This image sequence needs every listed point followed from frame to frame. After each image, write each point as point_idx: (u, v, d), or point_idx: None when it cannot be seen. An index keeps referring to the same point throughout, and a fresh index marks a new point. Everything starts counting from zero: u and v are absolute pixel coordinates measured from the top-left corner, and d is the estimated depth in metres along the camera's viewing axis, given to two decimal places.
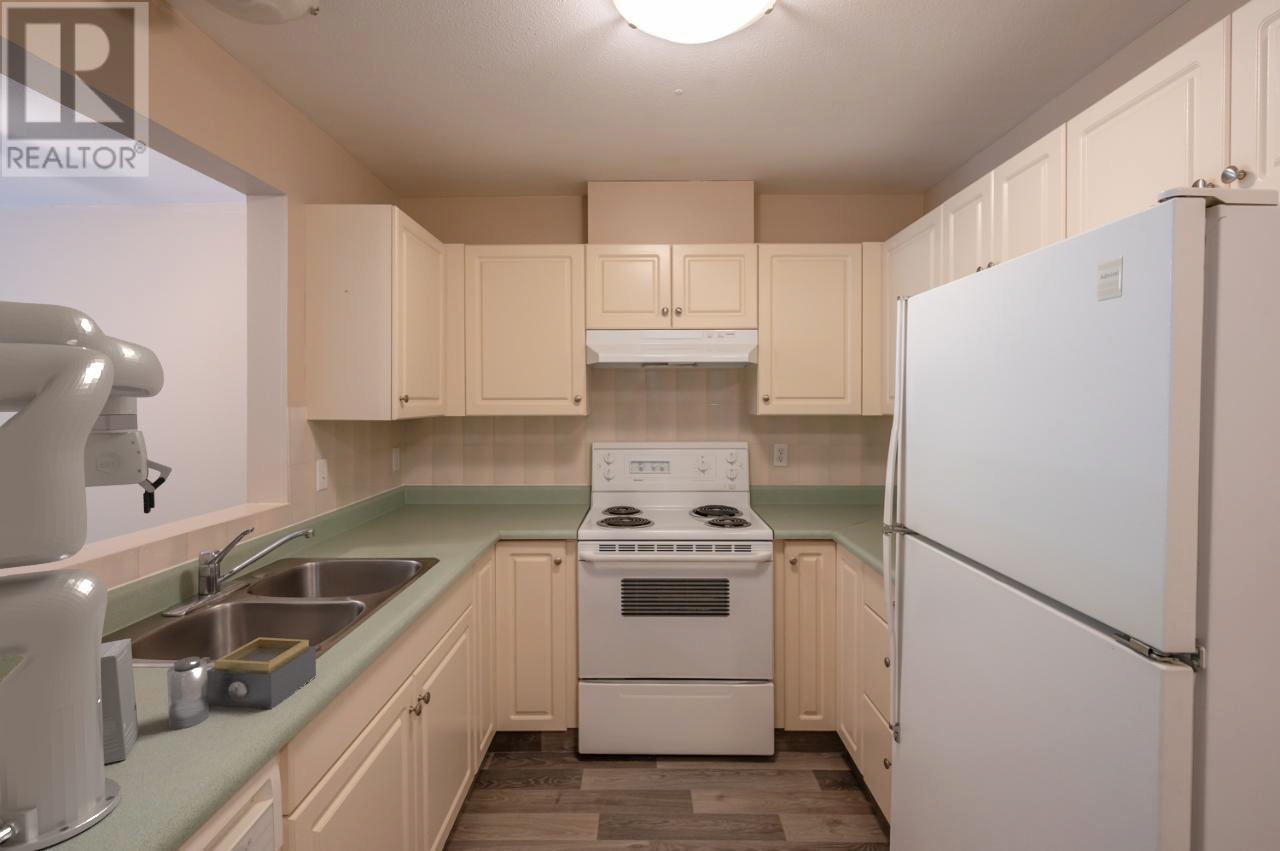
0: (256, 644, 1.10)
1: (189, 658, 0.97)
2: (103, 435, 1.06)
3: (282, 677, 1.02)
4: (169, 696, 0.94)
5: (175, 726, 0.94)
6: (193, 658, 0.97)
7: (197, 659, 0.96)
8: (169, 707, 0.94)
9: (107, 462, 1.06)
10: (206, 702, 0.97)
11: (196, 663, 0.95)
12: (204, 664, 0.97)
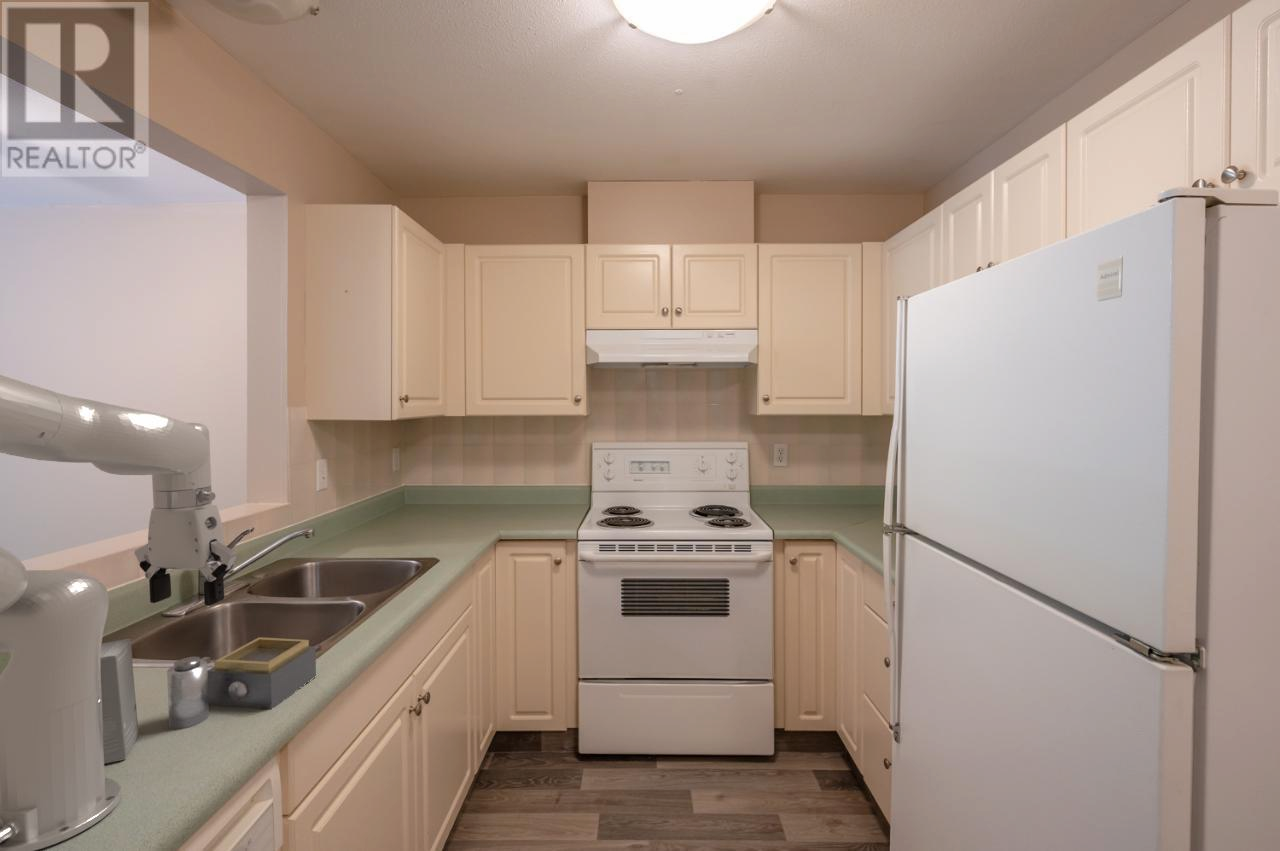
0: (256, 644, 1.10)
1: (189, 658, 0.97)
2: None
3: (282, 677, 1.02)
4: (169, 696, 0.94)
5: (175, 726, 0.94)
6: (193, 658, 0.97)
7: (197, 659, 0.96)
8: (169, 707, 0.94)
9: None
10: (206, 702, 0.97)
11: (196, 663, 0.95)
12: (204, 664, 0.97)
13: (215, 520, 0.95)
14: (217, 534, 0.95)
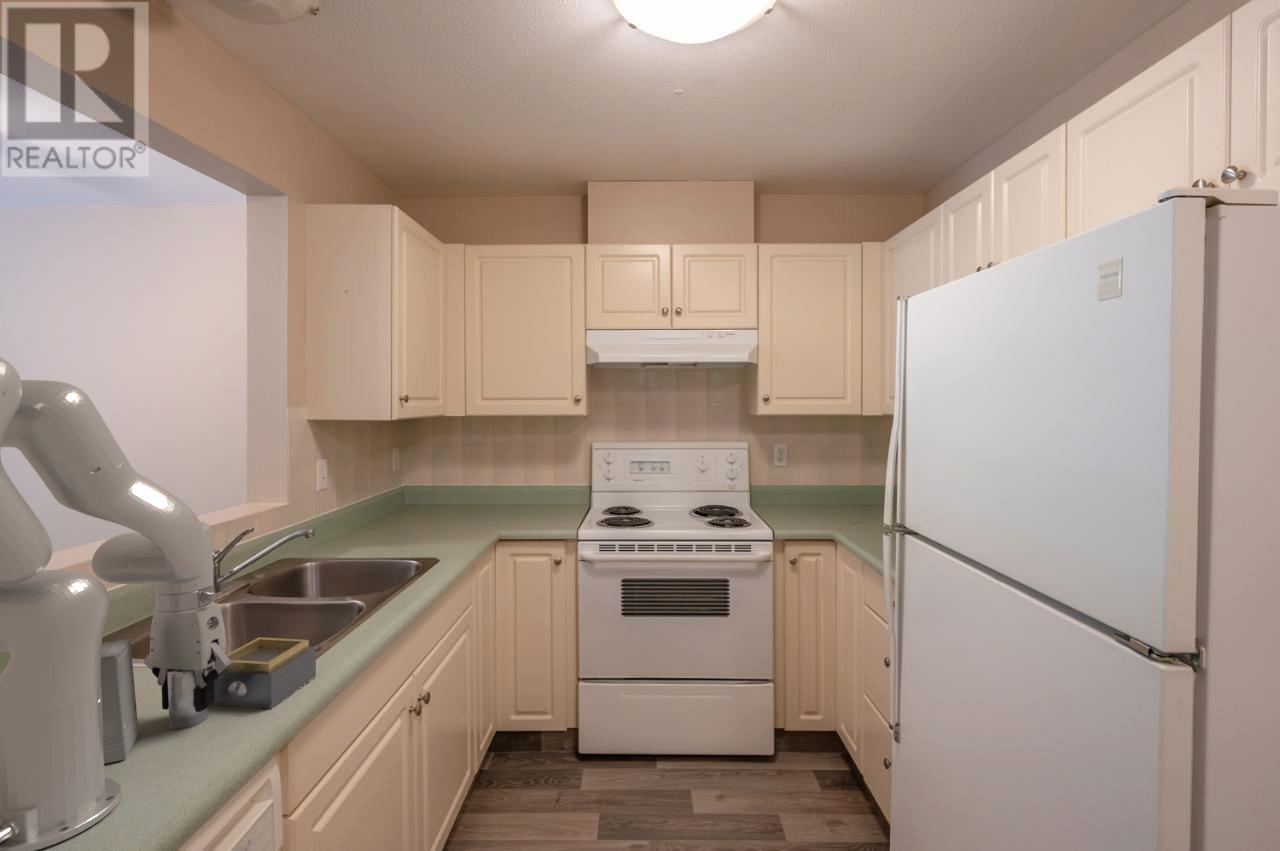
0: (256, 644, 1.10)
1: None
2: None
3: (282, 677, 1.02)
4: (169, 696, 0.94)
5: (175, 726, 0.94)
6: None
7: None
8: (169, 707, 0.94)
9: None
10: None
11: None
12: None
13: (217, 619, 0.96)
14: (219, 633, 0.96)
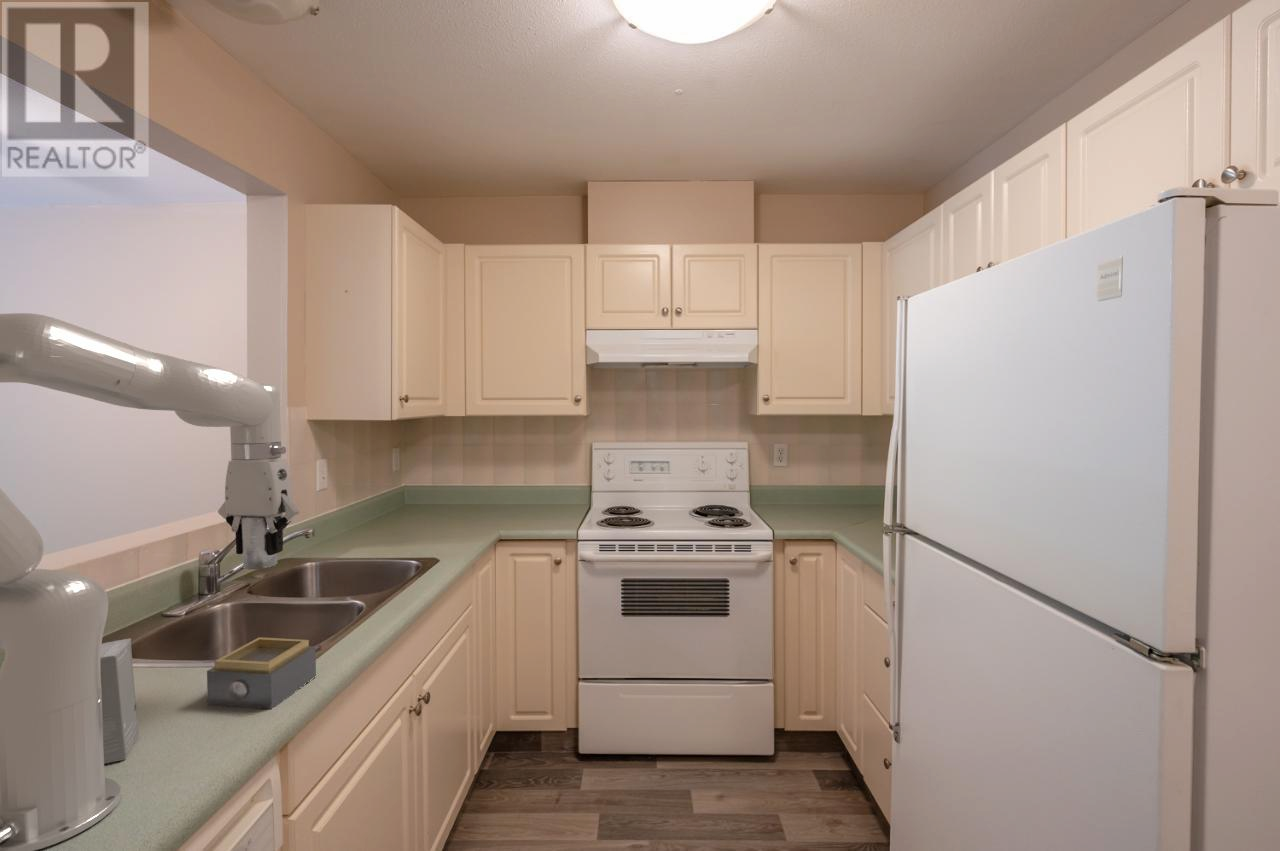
0: (256, 644, 1.10)
1: None
2: None
3: (282, 677, 1.02)
4: (244, 539, 1.02)
5: (249, 566, 1.02)
6: None
7: None
8: (244, 550, 1.03)
9: None
10: None
11: None
12: None
13: (285, 473, 1.04)
14: (287, 485, 1.04)
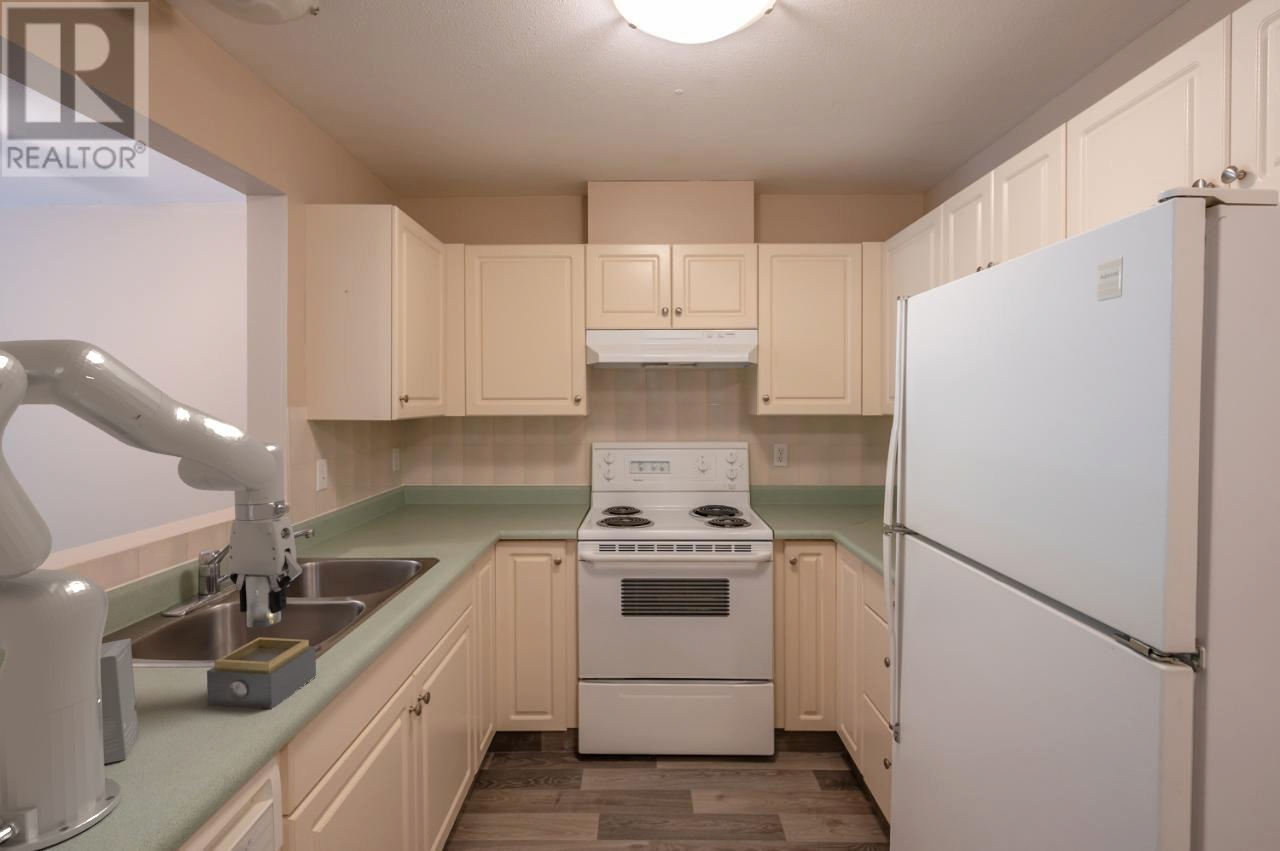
0: (256, 644, 1.10)
1: None
2: None
3: (282, 677, 1.02)
4: (248, 598, 1.03)
5: (253, 625, 1.03)
6: None
7: None
8: (248, 608, 1.03)
9: None
10: None
11: None
12: None
13: (288, 531, 1.05)
14: (290, 543, 1.05)
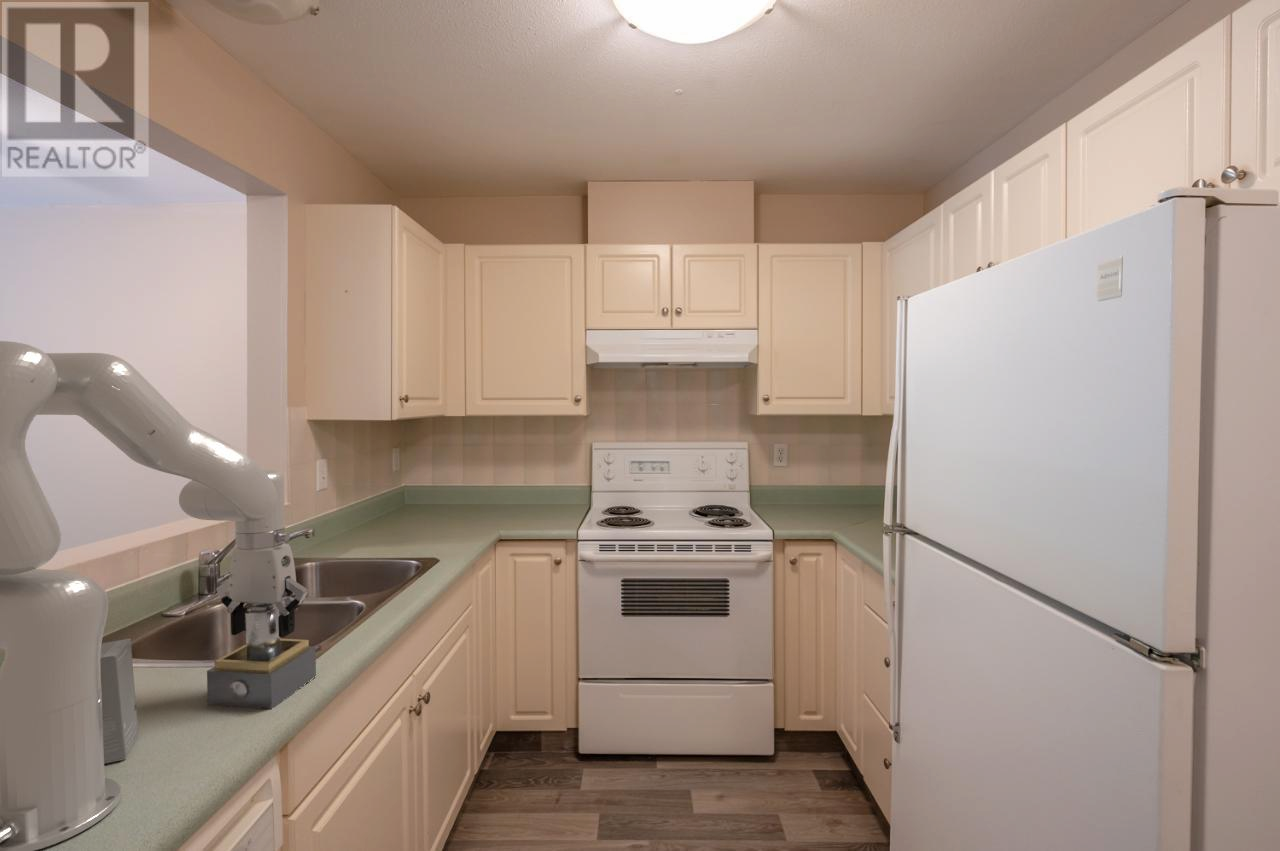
0: None
1: None
2: None
3: (282, 677, 1.02)
4: (247, 635, 1.03)
5: None
6: None
7: None
8: (247, 645, 1.03)
9: None
10: (279, 641, 1.06)
11: (270, 605, 1.05)
12: None
13: (289, 558, 1.05)
14: (290, 571, 1.05)
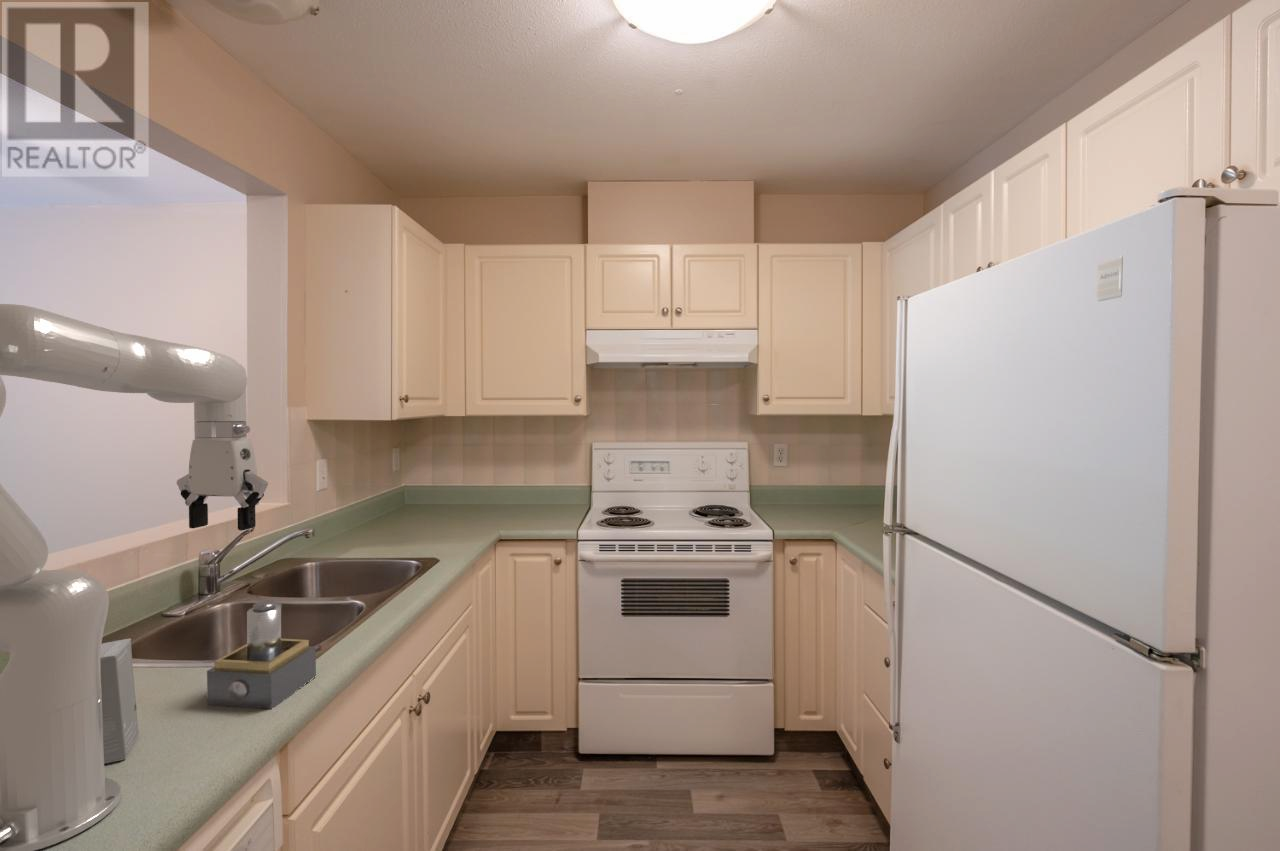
0: None
1: (265, 601, 1.06)
2: None
3: (282, 677, 1.02)
4: (249, 634, 1.03)
5: None
6: (269, 601, 1.06)
7: (273, 602, 1.06)
8: (248, 644, 1.03)
9: None
10: (280, 642, 1.06)
11: (273, 605, 1.05)
12: (279, 607, 1.06)
13: (249, 452, 1.03)
14: (250, 465, 1.03)
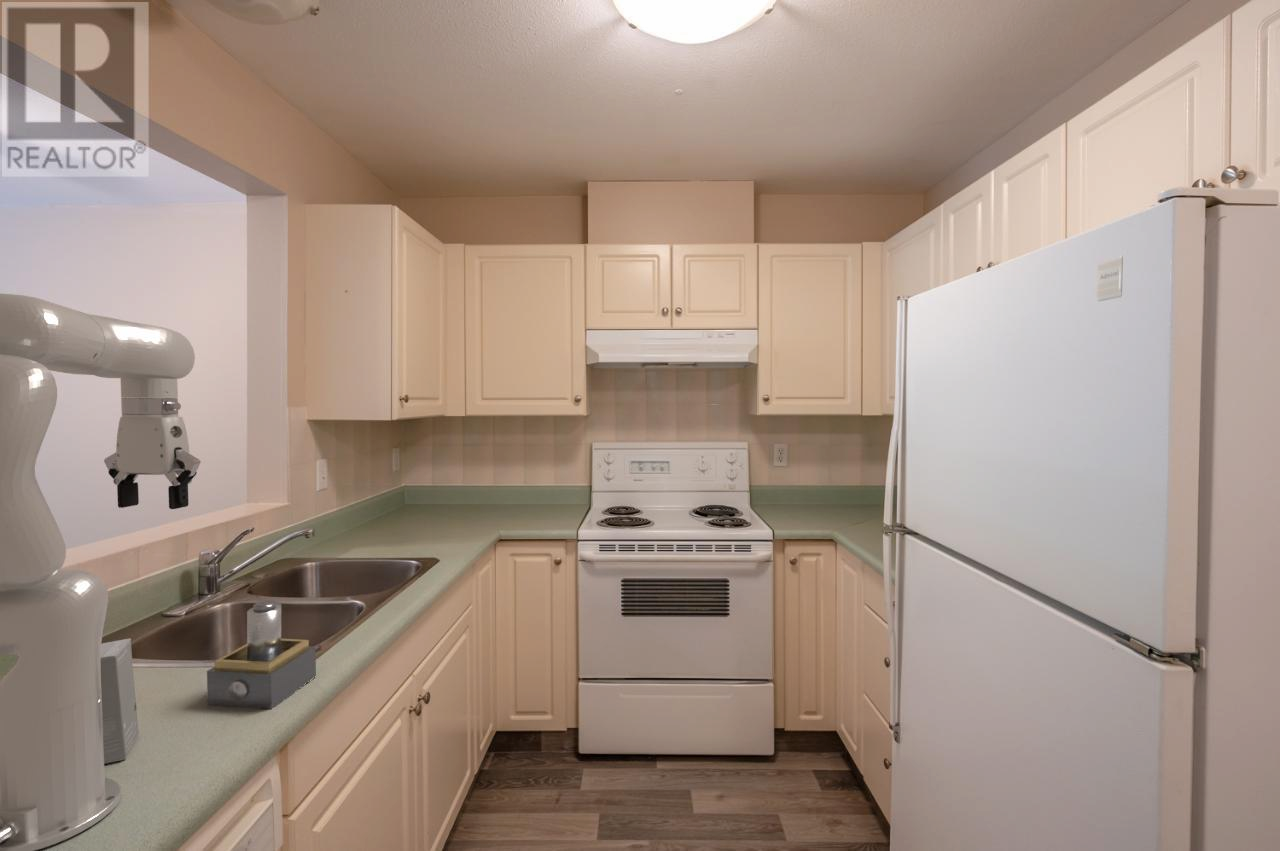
0: None
1: (265, 601, 1.06)
2: None
3: (282, 677, 1.02)
4: (249, 634, 1.03)
5: None
6: (269, 601, 1.06)
7: (273, 602, 1.06)
8: (249, 644, 1.03)
9: None
10: (280, 642, 1.06)
11: (273, 605, 1.05)
12: (279, 607, 1.06)
13: (180, 430, 1.01)
14: (182, 443, 1.01)
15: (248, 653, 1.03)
